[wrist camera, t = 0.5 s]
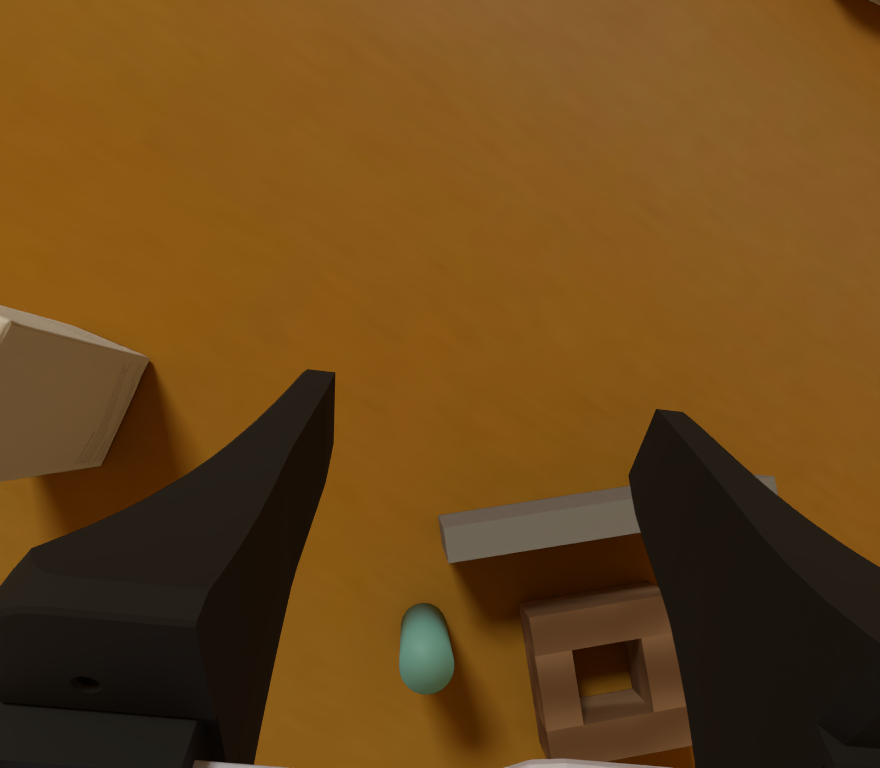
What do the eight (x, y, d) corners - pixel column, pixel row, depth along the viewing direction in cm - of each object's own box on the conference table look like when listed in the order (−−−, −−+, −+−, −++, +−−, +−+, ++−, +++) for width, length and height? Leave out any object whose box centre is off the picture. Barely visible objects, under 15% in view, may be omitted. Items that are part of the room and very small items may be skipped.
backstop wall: (726, 500, 41) (780, 510, 35) (442, 545, 40) (448, 563, 34) (721, 471, 41) (774, 476, 36) (438, 515, 40) (443, 528, 34)
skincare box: (74, 326, 40) (-119, 257, 25) (157, 360, 40) (13, 311, 25) (18, 441, 39) (-218, 440, 24) (103, 476, 39) (-81, 496, 24)
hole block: (671, 718, 40) (697, 744, 36) (539, 742, 39) (552, 771, 36) (648, 581, 40) (670, 594, 37) (518, 602, 40) (529, 618, 36)
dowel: (449, 645, 39) (458, 689, 32) (404, 653, 39) (403, 698, 32) (442, 599, 40) (450, 632, 33) (397, 607, 39) (395, 641, 32)
